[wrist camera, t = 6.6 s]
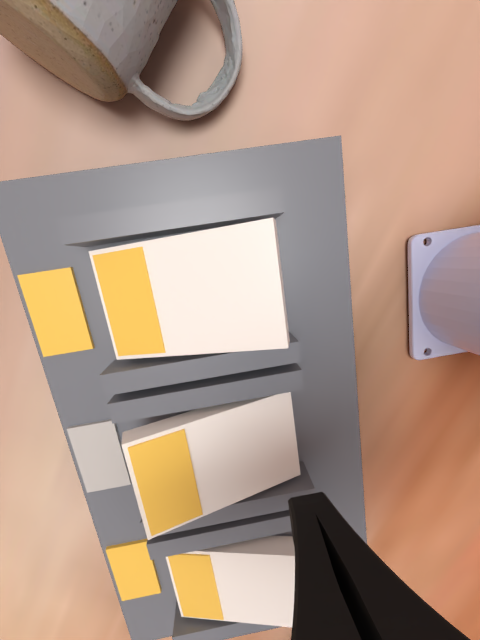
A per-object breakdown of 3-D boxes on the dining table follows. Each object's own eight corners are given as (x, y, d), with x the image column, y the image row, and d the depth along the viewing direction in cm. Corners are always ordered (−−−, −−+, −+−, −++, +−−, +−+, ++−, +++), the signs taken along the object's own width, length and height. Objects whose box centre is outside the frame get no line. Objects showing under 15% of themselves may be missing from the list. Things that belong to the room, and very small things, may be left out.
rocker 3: (312, 537, 15) (314, 558, 14) (320, 607, 16) (322, 632, 15) (170, 531, 16) (163, 550, 15) (187, 596, 17) (180, 618, 16)
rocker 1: (275, 219, 11) (272, 217, 10) (289, 340, 12) (288, 348, 11) (104, 251, 13) (87, 251, 12) (129, 352, 14) (115, 360, 13)
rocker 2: (281, 382, 15) (291, 390, 14) (291, 462, 16) (301, 475, 15) (122, 432, 13) (121, 445, 12) (147, 522, 14) (147, 541, 13)
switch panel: (318, 158, 16) (362, 113, 11) (349, 548, 22) (387, 630, 17) (28, 198, 15) (-61, 169, 10) (144, 591, 21) (123, 690, 16)
